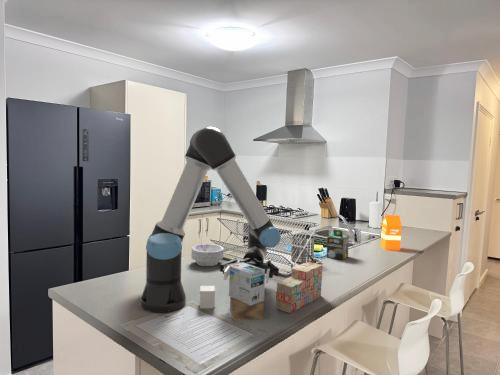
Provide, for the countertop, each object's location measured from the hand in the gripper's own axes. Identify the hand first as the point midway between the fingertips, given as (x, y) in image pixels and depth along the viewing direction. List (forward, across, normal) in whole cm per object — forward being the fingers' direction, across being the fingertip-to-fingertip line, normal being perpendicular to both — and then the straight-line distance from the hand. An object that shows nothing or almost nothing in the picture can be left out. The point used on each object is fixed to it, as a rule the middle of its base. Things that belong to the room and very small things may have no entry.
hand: (245, 277), depth 115 cm
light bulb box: (-4, 0, +9) cm, 9 cm away
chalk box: (-81, +38, +13) cm, 91 cm away
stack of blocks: (-16, +18, +13) cm, 27 cm away
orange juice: (-109, +72, +13) cm, 132 cm away
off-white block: (-6, -14, +13) cm, 20 cm away
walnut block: (-3, 0, +13) cm, 14 cm away
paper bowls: (-53, -26, +13) cm, 61 cm away
